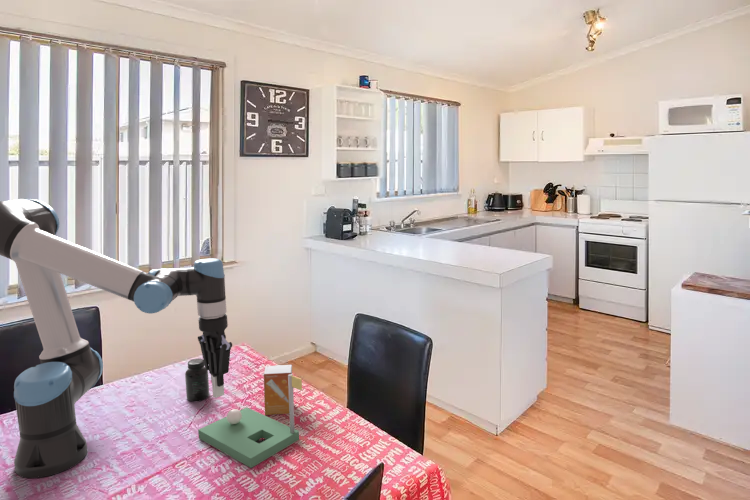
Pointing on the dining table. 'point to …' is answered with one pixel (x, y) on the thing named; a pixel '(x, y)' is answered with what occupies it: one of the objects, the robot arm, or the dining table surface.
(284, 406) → the small box
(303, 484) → the dining table surface
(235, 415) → the ball
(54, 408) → the robot arm
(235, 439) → the putting green
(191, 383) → the supplement bottle
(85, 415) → the dining table surface
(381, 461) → the dining table surface
